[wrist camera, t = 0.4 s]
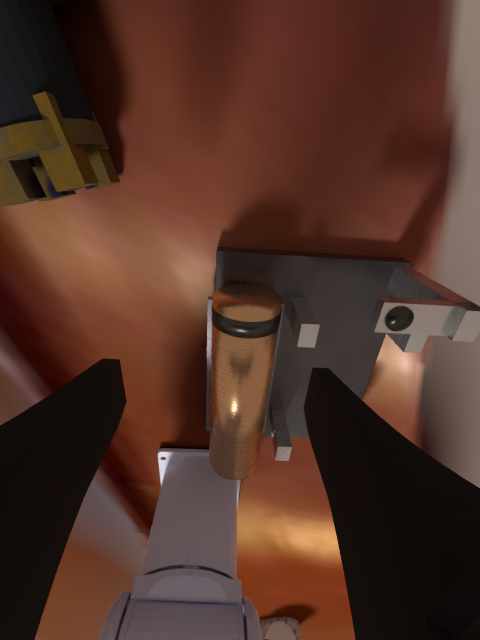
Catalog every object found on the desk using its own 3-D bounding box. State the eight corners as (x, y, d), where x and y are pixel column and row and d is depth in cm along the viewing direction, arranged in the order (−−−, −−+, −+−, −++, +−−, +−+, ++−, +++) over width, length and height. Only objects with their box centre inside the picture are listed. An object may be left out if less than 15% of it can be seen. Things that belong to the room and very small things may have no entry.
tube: (257, 436, 25) (260, 481, 21) (211, 433, 24) (205, 479, 21) (278, 286, 18) (287, 315, 14) (215, 282, 18) (208, 310, 14)
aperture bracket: (401, 289, 18) (473, 341, 13) (334, 285, 18) (378, 336, 12) (410, 266, 17) (489, 312, 12) (340, 262, 17) (388, 306, 12)
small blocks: (353, 425, 24) (370, 463, 21) (270, 422, 24) (275, 460, 21) (398, 303, 19) (430, 330, 16) (290, 297, 18) (301, 323, 15)
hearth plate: (343, 430, 26) (349, 444, 24) (207, 425, 25) (205, 439, 24) (403, 258, 18) (416, 265, 17) (210, 246, 18) (208, 252, 16)
